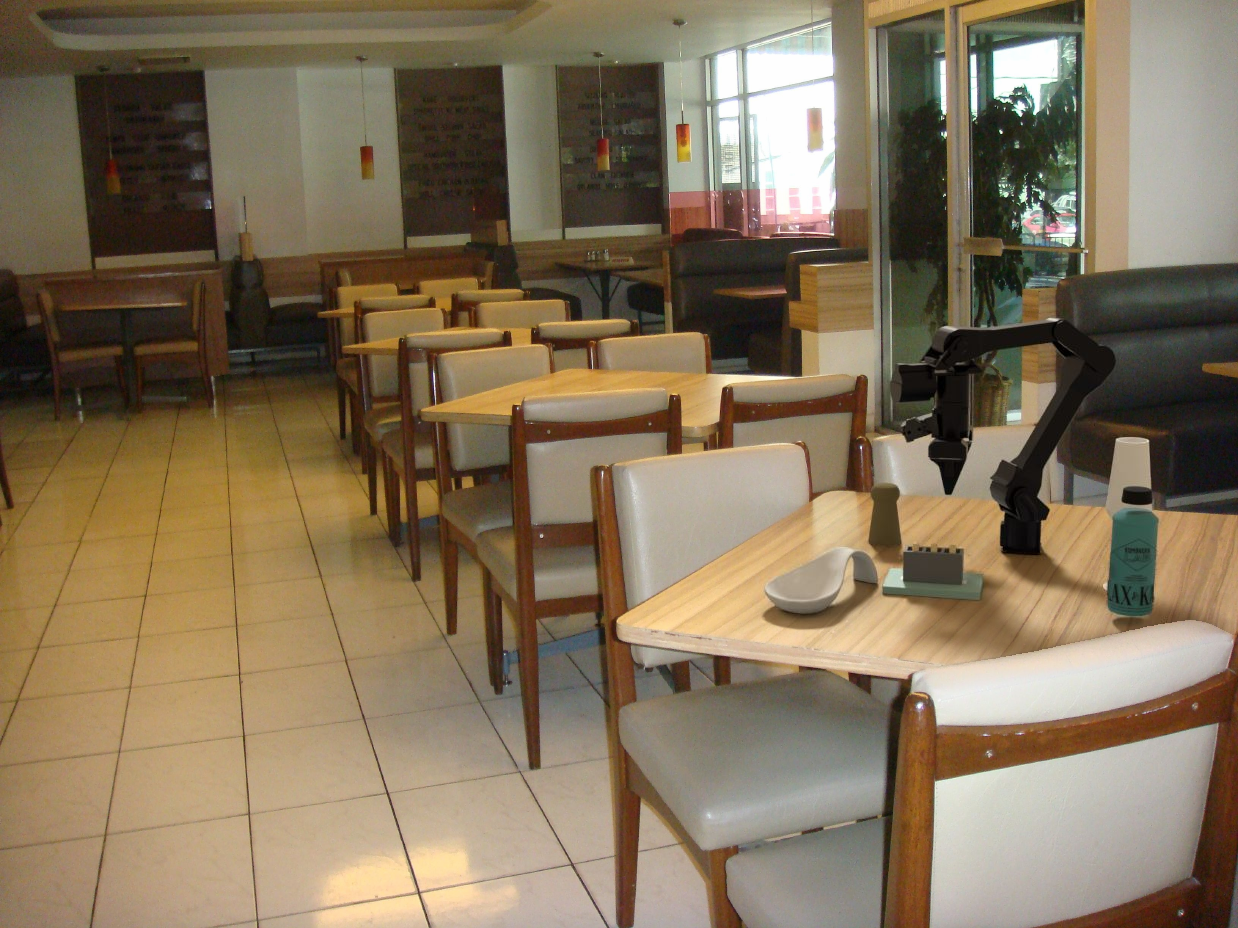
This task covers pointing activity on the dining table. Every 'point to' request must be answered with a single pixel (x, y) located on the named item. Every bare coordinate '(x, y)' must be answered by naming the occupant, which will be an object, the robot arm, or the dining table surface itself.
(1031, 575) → the dining table surface
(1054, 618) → the dining table surface
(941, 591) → the header board
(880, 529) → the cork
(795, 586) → the spoon rest
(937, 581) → the plug housing
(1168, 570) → the dining table surface
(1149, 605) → the beverage bottle
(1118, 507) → the white vase
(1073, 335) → the robot arm
